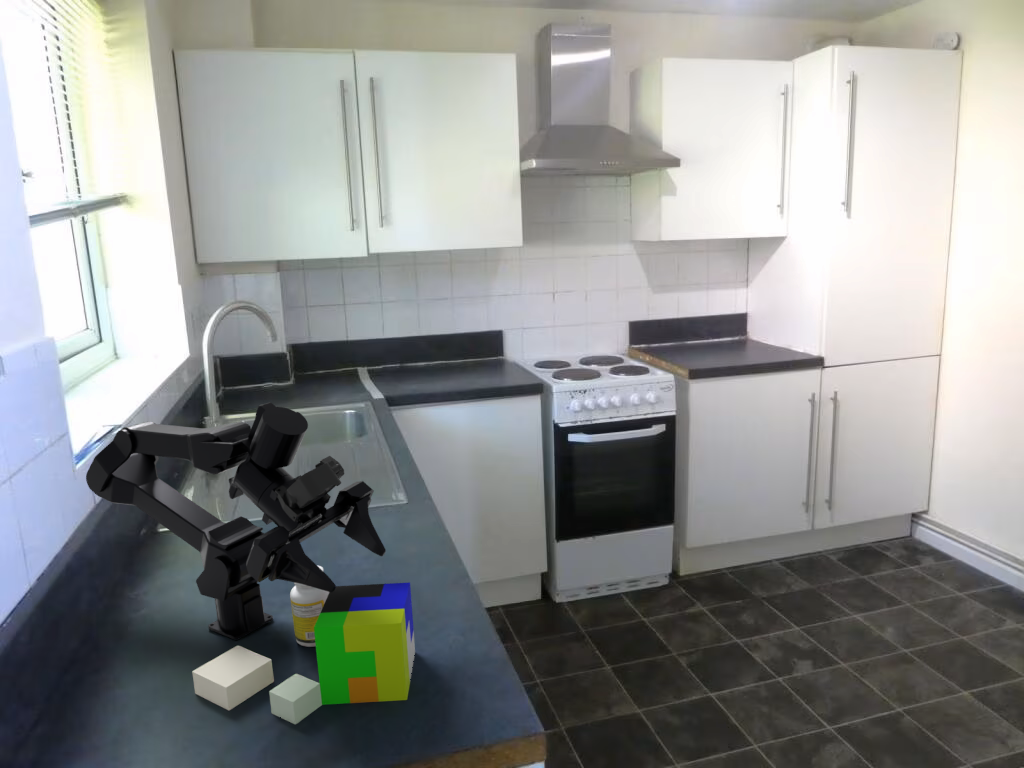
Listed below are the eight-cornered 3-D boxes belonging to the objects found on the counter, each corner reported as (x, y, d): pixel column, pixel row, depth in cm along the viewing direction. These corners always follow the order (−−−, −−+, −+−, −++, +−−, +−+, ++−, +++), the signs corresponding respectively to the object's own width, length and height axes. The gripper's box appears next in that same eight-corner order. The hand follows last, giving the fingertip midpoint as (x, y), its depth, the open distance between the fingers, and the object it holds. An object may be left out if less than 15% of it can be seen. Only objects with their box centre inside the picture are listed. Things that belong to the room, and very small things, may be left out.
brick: (271, 714, 85) (269, 691, 84) (298, 695, 88) (296, 673, 87) (295, 725, 82) (292, 702, 82) (322, 706, 86) (319, 683, 85)
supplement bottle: (316, 623, 104) (309, 559, 102) (344, 632, 101) (338, 567, 99) (286, 641, 99) (279, 575, 97) (315, 652, 97) (308, 584, 95)
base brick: (195, 693, 89) (192, 671, 88) (240, 666, 94) (237, 645, 93) (229, 710, 85) (226, 687, 85) (274, 681, 91) (271, 659, 90)
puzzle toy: (415, 652, 96) (410, 582, 94) (407, 700, 86) (401, 623, 84) (338, 656, 96) (331, 586, 94) (321, 705, 86) (313, 627, 84)
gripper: (230, 476, 84) (324, 565, 79) (343, 424, 99) (427, 496, 95) (211, 540, 89) (298, 626, 85) (321, 481, 105) (399, 552, 100)
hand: (360, 570), depth 91 cm, fingers open, 9 cm apart
